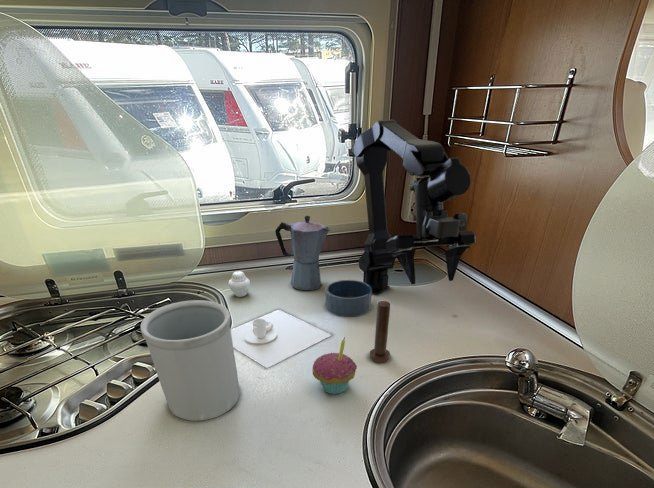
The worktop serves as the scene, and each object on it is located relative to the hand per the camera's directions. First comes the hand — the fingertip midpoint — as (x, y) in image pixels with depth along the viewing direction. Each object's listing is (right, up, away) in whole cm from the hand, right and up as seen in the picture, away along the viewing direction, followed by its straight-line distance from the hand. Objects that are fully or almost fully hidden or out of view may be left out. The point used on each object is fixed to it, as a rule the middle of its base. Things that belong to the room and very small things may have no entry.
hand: (432, 282), depth 93 cm
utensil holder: (-47, -26, -11) cm, 55 cm away
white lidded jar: (-48, +3, +29) cm, 56 cm away
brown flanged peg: (-12, -17, 0) cm, 20 cm away
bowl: (-17, -1, +21) cm, 27 cm away
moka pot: (-29, +7, +33) cm, 45 cm away
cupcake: (-22, -23, -8) cm, 33 cm away
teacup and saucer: (-36, -11, +9) cm, 39 cm away
